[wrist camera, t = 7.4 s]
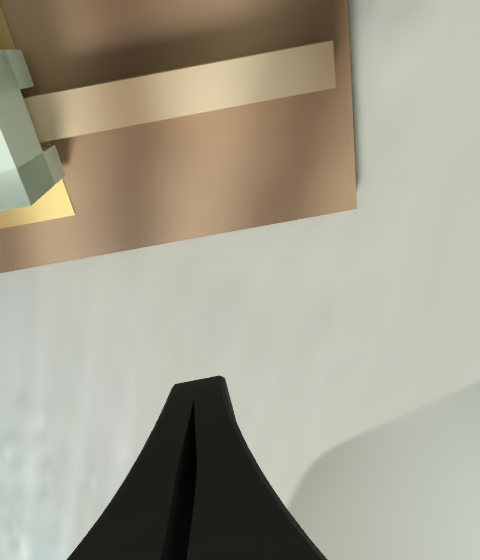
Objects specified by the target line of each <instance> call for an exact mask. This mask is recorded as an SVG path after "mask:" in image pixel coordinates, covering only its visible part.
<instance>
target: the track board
mask: <svg viewBox="0 0 480 560" xmlns="http://www.w3.org/2000/svg"><path fill="white" fill-rule="evenodd" d="M0 49H3V50H22V53H23V56H24V59H25V61H26V64H27V67H28V70H29V73H30V76H31V78H32V81H33V84H34V86H33V87H28V88H24V89H20V91H21V94H22V96H23V99H24V102H25V105H26V107H27V110H28V113H29V115H30V118H31V121H32V124H33V126H34V129H35V132H36V134H37V137H38V140H39V143H40V145H41V147H46V146H51V145H55V146H56V149H57V152H58V155H59V158H60V161H61V163H62V166H63V169H64V172H65V176H64V177H63V178H62V179H61V180H60V181H59V182H58V183H56V184H55V185H54V186H53V187H52V188H51V189H50V190H49V191H47V192H46V193H45V194H44V195H43V196H42V197H41V198H40V199H38V200H37V201H36V202H35V203H34V204H33V205H32V206H27V207H22V208H16V209H11V210H5V211H0V273H4V272H9V271H15V270H20V269H26V268H31V267H37V266H42V265H48V264H53V263H59V262H65V261H70V260H76V259H81V258H87V257H92V256H98V255H103V254H109V253H114V252H120V251H125V250H131V249H137V248H142V247H148V246H153V245H159V244H164V243H170V242H175V241H181V240H186V239H192V238H198V237H203V236H209V235H214V234H220V233H225V232H231V231H236V230H242V229H247V228H253V227H258V226H264V225H270V224H275V223H281V222H286V221H292V220H297V219H303V218H308V217H314V216H319V215H325V214H331V213H336V212H342V211H347V210H353V209H357V199H356V175H355V152H354V129H353V106H352V83H351V59H350V36H349V13H348V0H0Z"/></svg>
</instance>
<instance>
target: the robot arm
mask: <svg viewBox="0 0 480 560" xmlns="http://www.w3.org/2000/svg"><path fill="white" fill-rule="evenodd" d="M67 560H327V559H326V558H325V556H324V555H323V554H322V553H321V552H320V550H319V549H318V548H317V547H316V546H315V544H314V543H313V542H312V541H311V540H310V539H309V537H308V536H307V535H306V533H305V532H304V531H303V529H302V528H301V527H300V525H299V524H298V523H297V522H296V520H295V519H294V518H293V516H292V515H291V514H290V512H289V511H288V510H287V508H286V507H285V506H284V504H283V503H282V501H281V500H280V498H279V497H278V495H277V494H276V493H275V491H274V490H273V488H272V487H271V485H270V483H269V482H268V480H267V479H266V477H265V476H264V474H263V472H262V471H261V469H260V467H259V466H258V464H257V462H256V460H255V459H254V457H253V455H252V453H251V451H250V449H249V448H248V446H247V444H246V442H245V440H244V438H243V436H242V434H241V431H240V429H239V427H238V425H237V422H236V419H235V415H234V411H233V407H232V404H231V400H230V396H229V392H228V388H227V384H226V381H225V378H223V377H222V376H215V377H210V378H204V379H199V380H194V381H189V382H184V383H179V384H175V385H174V386H173V387H172V389H171V392H170V394H169V396H168V398H167V401H166V403H165V405H164V407H163V410H162V412H161V414H160V416H159V418H158V420H157V422H156V424H155V426H154V428H153V430H152V432H151V434H150V436H149V438H148V440H147V442H146V444H145V445H144V447H143V449H142V451H141V453H140V455H139V456H138V458H137V460H136V461H135V463H134V465H133V467H132V468H131V470H130V472H129V473H128V475H127V477H126V478H125V480H124V482H123V483H122V485H121V486H120V488H119V490H118V491H117V493H116V494H115V496H114V497H113V499H112V500H111V502H110V503H109V505H108V506H107V507H106V509H105V510H104V512H103V513H102V515H101V516H100V517H99V519H98V520H97V522H96V523H95V524H94V525H93V527H92V528H91V529H90V531H89V532H88V533H87V535H86V536H85V537H84V539H83V540H82V541H81V543H80V544H79V545H78V546H77V548H76V549H75V550H74V551H73V553H72V554H71V555H70V556H69V558H68V559H67Z"/></svg>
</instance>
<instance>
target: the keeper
mask: <svg viewBox="0 0 480 560" xmlns="http://www.w3.org/2000/svg"><path fill="white" fill-rule="evenodd" d="M33 86H34V84H33V81H32V78H31V76H30V73H29V70H28V67H27V64H26V61H25V59H24V56H23V53H22V50H3V49H0V211H5V210H11V209H16V208H22V207H27V206H32V205H33V204H34V203H35V202H36V201H37V200H38V199H40V198H41V197H42V196H43V195H44V194H45V193H46V192H47V191H49V190H50V189H51V188H52V187H53V186H54V185H55V184H56V183H58V182H59V181H60V180H61V179H62V178H63V177H64V176H65V172H64V169H63V166H62V163H61V161H60V158H59V155H58V152H57V149H56V146H55V145H51V146H46V147H41V145H40V143H39V140H38V137H37V134H36V132H35V129H34V126H33V124H32V121H31V118H30V115H29V113H28V110H27V107H26V105H25V102H24V99H23V96H22V94H21V91H20V89H24V88H28V87H33Z"/></svg>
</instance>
